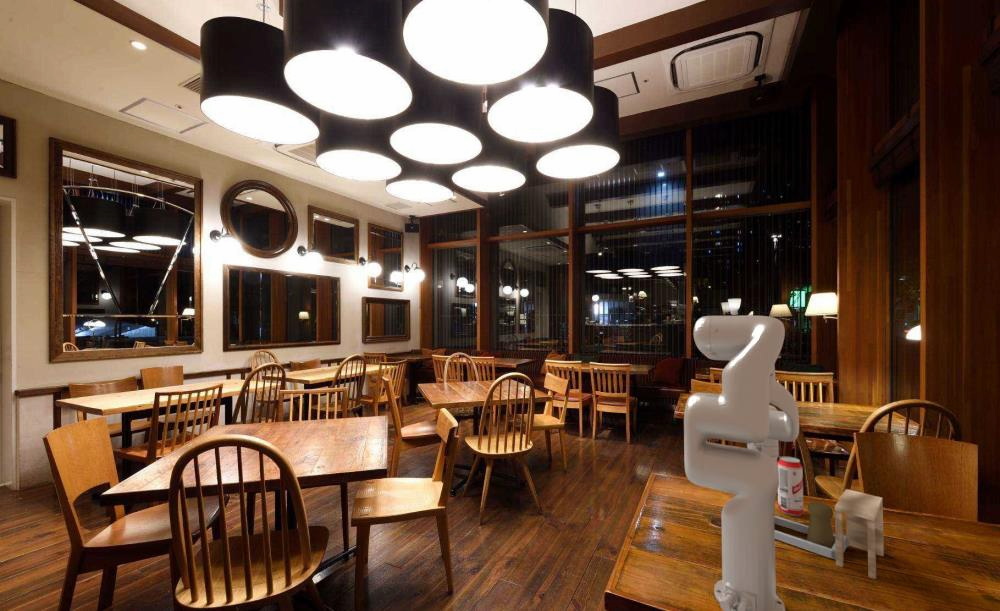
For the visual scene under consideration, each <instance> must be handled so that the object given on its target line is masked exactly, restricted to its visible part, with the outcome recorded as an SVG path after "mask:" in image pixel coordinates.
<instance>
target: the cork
mask: <svg viewBox="0 0 1000 611" xmlns="http://www.w3.org/2000/svg"><path fill="white" fill-rule="evenodd" d="M807 511H808V513H809V522H808V526H809V528H808V534H806V535H807V537H806V541H809V542H812V543H815V544H818V545H821V546H824V547H827V548H830V549H831V548H832V547H833V545H834V537H833V534H834V532H833V526H832V521H831V519H833V516H834V512H833V509H832V507H831V506H830V505H829V504H826V503H824V502H821V501H810V502H809V503H808V504H807Z"/></svg>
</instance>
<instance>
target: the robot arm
mask: <svg viewBox="0 0 1000 611" xmlns="http://www.w3.org/2000/svg"><path fill="white" fill-rule="evenodd" d="M785 329H786V328H785V326H784V322H782V321H781V320H780V319H778V318H776V317H773V316H766V315H706V316H701V317H700V318H698V319H697V320H696V322H695V324H694V326H693V340H694V342H695V345H696V347H697V349H698V350H699V352H701V354H703V355H704V356H705V357H706V358H708V359H710V360H714V361H729V362H728V363H727V364H726V365H725V366H724V368H723V369H722V372H721V393H712V392H711V393H710V392H695V393H693V394H691V395H689V397H688V398H687V400H686V403H685V407H684V413H683V415H684V416H683V435H684V436H683V439H684V440H683V443H684V444H683V446H684V447H683V450H684V454H683V456H684V458H683V459H684V460H683V461H684V472H685V473H684V474H685V476H686V478H687V479H688V481H689V482H690V483H691V484H694V485H696V486H699V487H702V488H706V489H711V490H715V491H719V492H725V493H727V494H731V495H733V497H731V498H730V499H729V500H728V501H727V502H726V503H725V504H724V506H723V508H722V510H721V519H720V520H721V569H722V571H721V572H722V573H721V576H722V577H721V578H722V579H720V580H717V581H716V583H715V584H714V588H713V589H714V590H713V591H714V597H715V598H716V601H718V603H719V606H720V609H721V610H722V611H786V607H785V604H784V601H783V600H782V599H781V598H780V597H779V596H778V595H777V593H776V592H777V591H776V590H777V589H776V588H777V586H776V539H775V530H776V529H775V524H774V520H775V516H776V515H775V514H776V513H775V512H776V501H777V495H778V487H779V470H778V461H779V460H778V458H780V456H779V450H780V448H779V441H780V442H787V443H788V442H793V441H795V440H797V439H798V437H799V434H800V419H799V418H800V416H799V415H800V414H799V407H798V404H797V401H796V398H794V396H793V395H792V394H791V392H790V391H789V390H788V389H787V388H786V387H785V386H784V385H782V384H781V383H780V382H779V381H777V380H776V368H775V367H776V366H775V364H776V361H777V360H778V357H779V355H780V353H781V350H782V348H783V344H784V340H785V334H786V332H785V331H786V330H785ZM770 404H771V405H770ZM776 407H778V408H779V409H780V410H778V409H777V408H776ZM709 439H715V440H716V439H717V440H722V441H723V440H724V441H729V442H736V443H741V444H742V443H743V444H746V447H747V448H746V447H742V446H741V447H740V446H736V445H727V444H722V443H716V442H715V443H714V442H709V441H708V440H709Z"/></svg>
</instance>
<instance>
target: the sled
mask: <svg viewBox="0 0 1000 611" xmlns="http://www.w3.org/2000/svg"><path fill="white" fill-rule="evenodd" d="M774 525H777V526H780V527H784V528H787V529H791V530H792V531H793V530H794V531H796V532H800V533H803V534H806V535H808V528H809V525H806V524H803V523H800V522H796V521H795V520H790V519H787V518H785V517H781V516H778V515H775V520H774ZM833 537H834V545H833V547H832V548H831V549H830V548H827V547H824V546H821V545H818V544H815V543H812V542H809V541H807V539H803V538H800V537H797V536H794V535H791V534H788V533H785V532H782V531H779V530H776V529H775V540H777V541H779V542H783V543H785V544H789V545H791V546H795V547H797V548H800V549H804V550H806V551H809V552H812V553H815V554H818V555H820V556H823V557H825V558H830V559H833V560H835V561H836V538H835V533H833ZM847 548H849V538H847V535H846V534H843V554H844V553H845V551H846V549H847Z"/></svg>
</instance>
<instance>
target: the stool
mask: <svg viewBox="0 0 1000 611" xmlns="http://www.w3.org/2000/svg"><path fill="white" fill-rule="evenodd" d="M883 509H884V508H883V497H882V496H881V497H880V496H877V495H873V494H869V493H865V492H860V491H855V490H852V489H848V488H846V489H845V490H844V492H843V493H842V494H841V495H840V497H839V499H838V500H837V502H836V504H835V505H834V525H835V526H834V527H835V528H834V529H835V533H834V534H835V538H836V560H835V566H838V567H840V568H844V553H843V535H844V532H843V531H844V528H843V525H844V524H843V513H844V514H845V532H846V533H845V535H847V538H849V546H850V547H853V548H855V549H859V550H862V551H865V552H867V566H868V568H867V569H868V570H867V571H868V574H867V575H868V578H871V579H874V580H876V579H877V558H876V557H877V556H880V557H884V552H885V551H884V518H883V517H884V516H883V515H884V514H883V513H884V512H883Z"/></svg>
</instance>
